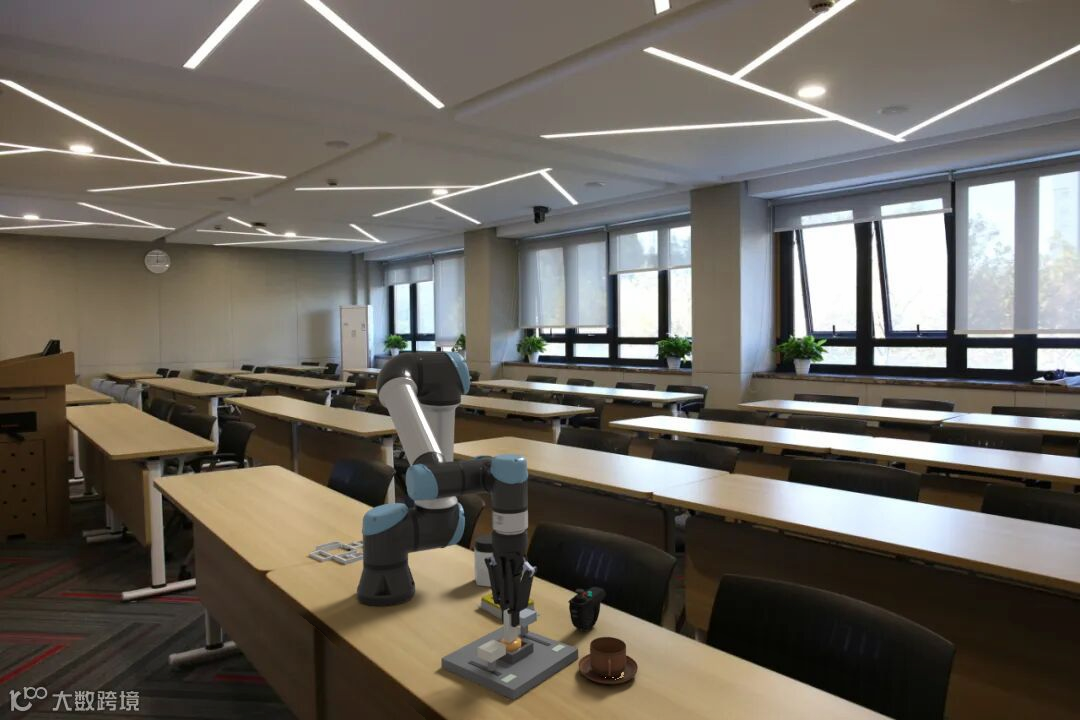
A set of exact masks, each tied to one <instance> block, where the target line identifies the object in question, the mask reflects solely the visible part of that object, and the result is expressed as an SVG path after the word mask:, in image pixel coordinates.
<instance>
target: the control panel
mask: <svg viewBox="0 0 1080 720" xmlns="http://www.w3.org/2000/svg"><path fill="white" fill-rule="evenodd" d="M518 637H519V638H520V639H521V648H519V649H517V650H515V651H514V652H510V651H507V650H506V655H504V656H502V657H500V658H499V659H497V660H496V669H495V670H493V671H491V670H488V661H485V660H483V659H480V658H478V647H479V646H481V645H483V644H485V643H487V642H489V641H491V640H495V641H498V642H500V640H501V639H502V638H504V625H503V626H501V627H499V628H497V629H495V630H493V631H491V632H489V633H488V634H486V635H484V636H482V637H480V638H477V639H476V640H474V641H472V642H470V643H468V644H466V645H464V646H462V647H460V648H458V649H456V650H455V651H453V652H451V653H449V654H447V655H444V656H443V657H441V668H442V669H444V670H446V671H448V672H451V673H452V674H455V675H457V676H459V677H461V678H464V679H466V680H468V681H470V682H473V683H475V684H477V685H479V686H482V687H484V688H486V689H488V690H490V691H493V692H495V693H497V694H500V695H502V696H504V697H506V698H508V699H511V700H513V701H515V700H517V699H518V698H519V697H521V696H523V695H524V694H526V693H527V692H529V691H530V690H531V689H533V688H535V687H536V686H538V685H539V684H541V683H543V682H544V681H545V680H547V679H549V678H551V677H552V676H553V675H554V674H556V673H558V672H559V671H561V670H562V669H563V668H566V667H567V666H568V665H570V664H571V663H573V662H574V661H576V660H577V659H579V647H578V648H577V647H574V646H571V645H569V644H567V643H564V642H561V641H558V640H555V639H552V638H549V637H546V636H544V635H541V634H538V633H535V632H534V631H529V630H528V634H526V635H522V634H521V633H520V626H519V627H518Z"/></svg>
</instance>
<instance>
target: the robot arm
mask: <svg viewBox="0 0 1080 720" xmlns="http://www.w3.org/2000/svg"><path fill="white" fill-rule="evenodd" d="M470 386H471V379H470V371H469V367H468V365H467V361H466V360H465V359H464V357H463V356H462V355H461V354H460V353H458V352H456V351H444V350H441V351H439V350H438V351H421V352H420V351H418V352H410V351H409V352H408V351H407V352H401V353H399V354H396V355H394V356H393V357H391V358H390V359H388V360H387V362H385V363H384V364H383V366H382V367H381V369H380V370H379V373H378V375H377V379H376V386H375V388H376V395H377V396H378V400H379V402H380V404H381V405H382V406H383V407H384V408H386V409H387V410H388V413H389V417H391V420H392V423H393V426H394V428H395V431H396V433H397V436H398V438H399V440H400V444H401V446H402V448H403V450H404V453H405V456H406V458H407V461H408V463H409V467H407V469H406V473H405V486H406V491H407V495H408V497H409V498H410V499H411V500H413V501H414V502H413V503H414V504H413V507H408V506H407V505H406V503H403V502H402V503H401V502H395V503H394V502H393V503H392V502H391V503H386V504H381V505H378V506H375V507H372V508H371V509H369V510H367V512H365V514H364V515H363V517H362V525H361V526H362V529H361V533H362V540H363V543H362V544H363V547H362V552H363V560H362V563H363V564H362V571H361V575H360V579H359V582H358V585H357V587H356V599H357V601H358V602H360V603H361V604H364V605H367V606H373V607H374V606H375V607H383V606H384V607H385V606H393V605H398V604H401V603H404V602H407V601H409V600H411V599H412V598H413V597H414V596H415V594H416V584H415V583H416V582H415V580H414V577H413V574H412V571H411V568H410V566H409V554H411V553H417V552H423V551H430V550H435V549H445V548H447V547H452V546H455V545H456V544H458V543H459V542H460V540H462V537H463V534H464V530H465V525H466V523H465V522H466V520H465V519H466V517H465V516H464V515H465V511H464V508H463V506H462V504H461V503H459V502H458V498H457V497H461V496H469V495H478V494H485V493H486V494H489V495H490V496H491V528H492V529H493V530H492V531H491V535H492V547H493V549H494V551H493V555H492V556H490V557H487V558H485V559H484V561H485V564H486V566H487V568H488V573H489V578H490V584H491V587H490V588H491V593H492V595H493V600H494V603H495V604H496V605H497V604H498V605H499V606H500V608H501V609H502V619H501V622H502V625H503V626H504V641H505V642H507V643H511V642H512V641H514V640H516V639H518V626H519V624H520V611H522V610H524V609H526V608H527V607H528V602H529V598H530V597H531V591H532V587H533V581H534V576H535V575H536V573H537V572H538V568H537V566H532V565H531V564H530V563H529V562H528V561H529V559H528V556H527V549H528V547H529V533H528V532H529V531H528V530H527V529H528V527H529V512H528V511H529V510H528V505H529V504H528V500H529V499H528V497H529V496H528V491H529V490H528V485H529V481H528V480H529V479H528V478H529V471H528V461H527V459H526V457H525V456H523V455H521V454H515V453H503V454H498V455H495V456H491V455H487V454H486V455H485V454H480V455H476V456H474V457H473V458H470V459H464V460H454V450H455V449H454V446H455V421H456V420H455V419H456V417H455V416H456V409H457V408H458V407H459V406H460V405H461V403H462V396H465V395H467V394H468V393H469V390H470ZM498 596H499V597H498ZM519 627H520V626H519Z"/></svg>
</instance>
